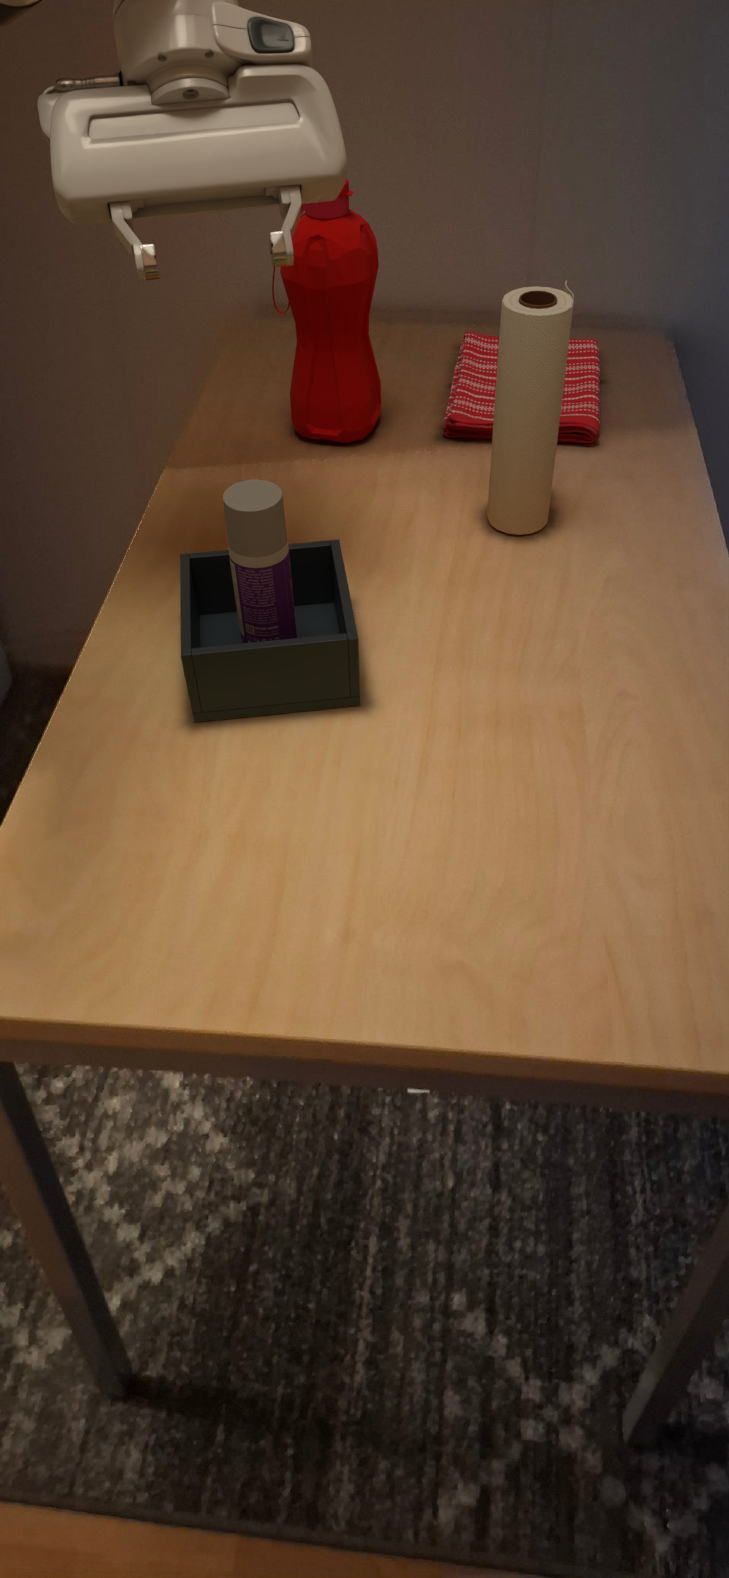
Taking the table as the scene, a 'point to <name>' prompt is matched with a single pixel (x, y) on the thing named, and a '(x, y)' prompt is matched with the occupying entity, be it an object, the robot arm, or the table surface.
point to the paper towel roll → (528, 406)
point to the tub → (269, 670)
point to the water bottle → (333, 322)
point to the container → (260, 561)
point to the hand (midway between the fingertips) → (216, 269)
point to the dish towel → (478, 387)
